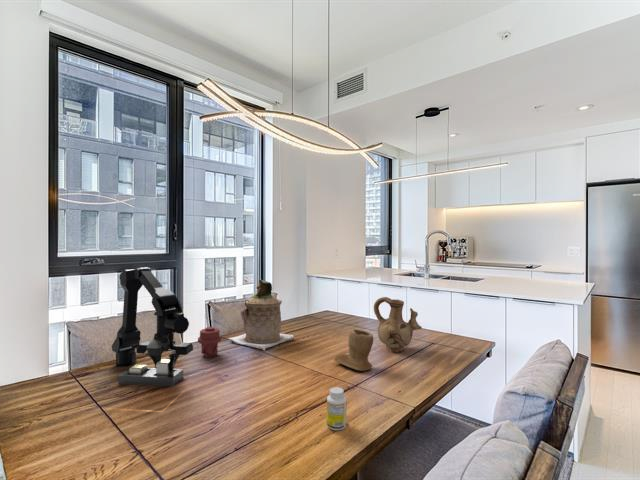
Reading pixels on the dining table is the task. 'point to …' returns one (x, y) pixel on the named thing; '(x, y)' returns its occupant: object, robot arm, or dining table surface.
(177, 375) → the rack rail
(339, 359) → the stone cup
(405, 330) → the ceramic vessel
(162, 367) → the cream two-tone block
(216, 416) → the dining table surface
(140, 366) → the beige block
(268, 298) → the cookie jar
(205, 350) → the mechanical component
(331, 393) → the supplement bottle
